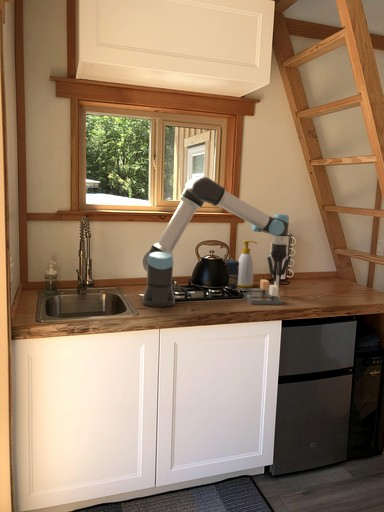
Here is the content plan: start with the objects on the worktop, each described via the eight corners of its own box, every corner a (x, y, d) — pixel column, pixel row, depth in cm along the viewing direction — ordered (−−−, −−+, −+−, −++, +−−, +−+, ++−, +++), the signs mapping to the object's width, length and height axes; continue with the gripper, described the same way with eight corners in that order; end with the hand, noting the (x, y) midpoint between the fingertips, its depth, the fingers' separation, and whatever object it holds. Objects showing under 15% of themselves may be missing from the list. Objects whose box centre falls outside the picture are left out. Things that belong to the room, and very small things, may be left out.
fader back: (262, 291, 229) (263, 281, 228) (259, 289, 233) (260, 279, 233) (268, 291, 229) (268, 281, 228) (265, 289, 234) (265, 279, 233)
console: (250, 304, 211) (251, 298, 211) (237, 291, 236) (237, 286, 236) (282, 304, 214) (282, 298, 213) (265, 292, 239) (266, 286, 239)
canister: (236, 294, 230) (238, 260, 227) (218, 292, 232) (220, 259, 229) (238, 290, 239) (240, 258, 237) (221, 288, 241) (223, 256, 239)
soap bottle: (254, 288, 248) (258, 242, 244) (234, 286, 248) (237, 241, 244) (252, 283, 259) (256, 240, 255) (233, 282, 259) (236, 239, 255)
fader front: (271, 297, 216) (272, 287, 215) (268, 295, 221) (269, 284, 220) (277, 297, 216) (278, 287, 216) (274, 295, 221) (275, 285, 220)
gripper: (270, 244, 224) (266, 288, 227) (294, 244, 226) (290, 289, 229) (265, 242, 231) (262, 285, 235) (288, 243, 233) (285, 285, 237)
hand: (276, 287), depth 232 cm, fingers closed
